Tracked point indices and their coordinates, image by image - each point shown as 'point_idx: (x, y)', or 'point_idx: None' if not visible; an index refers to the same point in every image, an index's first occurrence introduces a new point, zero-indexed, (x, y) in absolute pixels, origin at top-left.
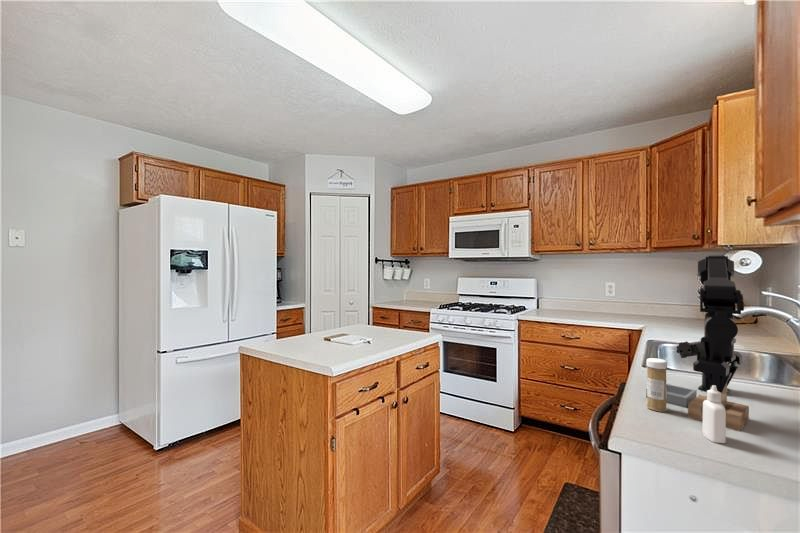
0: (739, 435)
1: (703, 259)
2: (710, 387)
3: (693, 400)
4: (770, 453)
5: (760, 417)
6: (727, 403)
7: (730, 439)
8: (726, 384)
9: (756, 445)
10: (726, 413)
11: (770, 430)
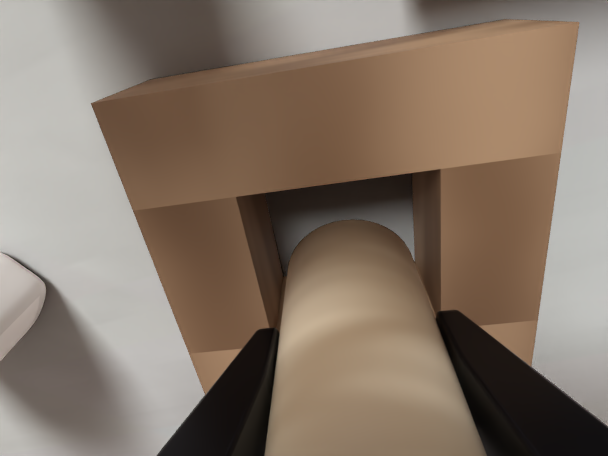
0: (170, 348)
1: None
2: (328, 340)
3: (266, 83)
4: (100, 444)
5: (596, 331)
6: (463, 294)
7: (71, 342)
8: None
9: (126, 407)
10: (193, 354)
11: None
